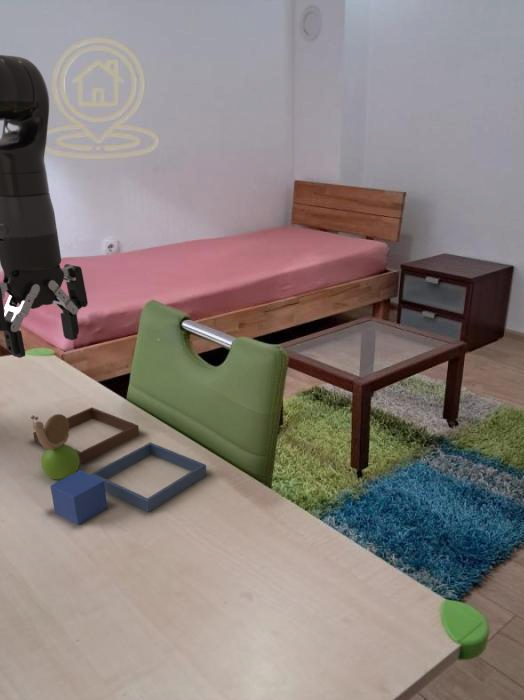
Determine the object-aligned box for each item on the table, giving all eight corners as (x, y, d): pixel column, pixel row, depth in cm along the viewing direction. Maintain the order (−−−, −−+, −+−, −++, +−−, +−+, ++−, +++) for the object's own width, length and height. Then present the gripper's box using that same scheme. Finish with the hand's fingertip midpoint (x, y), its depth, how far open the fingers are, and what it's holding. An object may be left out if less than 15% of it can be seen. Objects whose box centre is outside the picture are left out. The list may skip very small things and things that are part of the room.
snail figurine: (31, 485, 95) (17, 413, 90) (60, 465, 100) (49, 396, 95) (60, 493, 93) (48, 420, 88) (89, 472, 98) (78, 402, 93)
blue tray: (92, 488, 94) (89, 474, 93) (151, 455, 103) (150, 442, 102) (148, 516, 88) (147, 501, 87) (206, 478, 97) (206, 464, 96)
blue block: (55, 515, 88) (49, 485, 86) (84, 499, 92) (80, 469, 89) (78, 528, 85) (73, 497, 83) (108, 511, 89) (104, 480, 87)
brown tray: (35, 445, 106) (32, 432, 104) (93, 419, 115) (91, 407, 113) (82, 467, 99) (80, 453, 98) (139, 438, 108) (138, 425, 107)
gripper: (54, 219, 89) (70, 329, 96) (-44, 234, 78) (-18, 356, 85) (89, 225, 85) (103, 338, 92) (-8, 241, 75) (16, 368, 81)
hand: (45, 347), depth 89 cm, fingers open, 8 cm apart
